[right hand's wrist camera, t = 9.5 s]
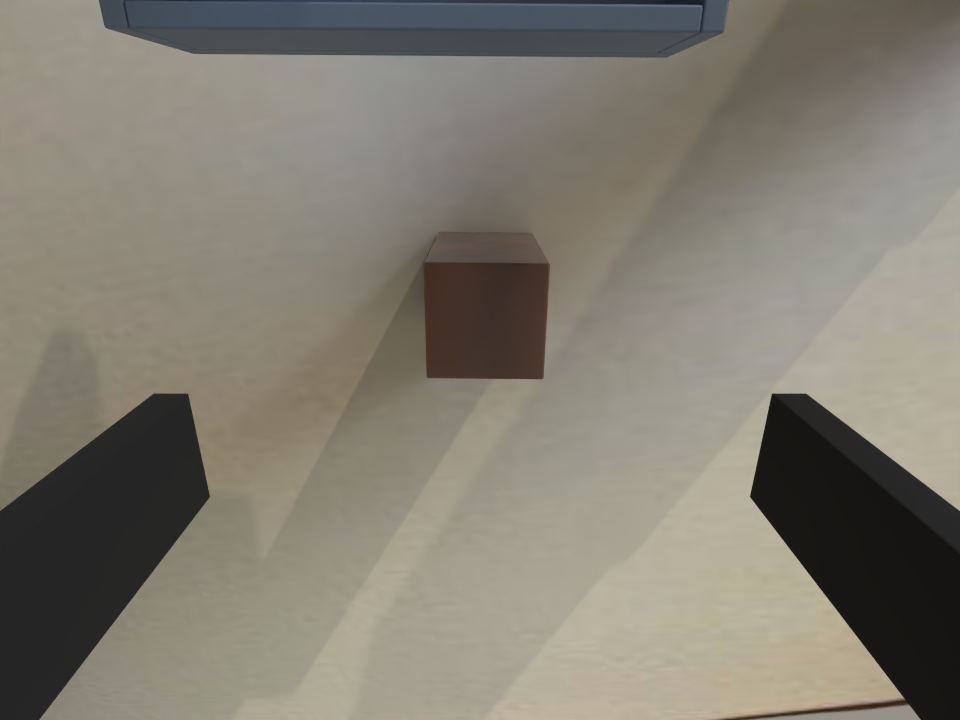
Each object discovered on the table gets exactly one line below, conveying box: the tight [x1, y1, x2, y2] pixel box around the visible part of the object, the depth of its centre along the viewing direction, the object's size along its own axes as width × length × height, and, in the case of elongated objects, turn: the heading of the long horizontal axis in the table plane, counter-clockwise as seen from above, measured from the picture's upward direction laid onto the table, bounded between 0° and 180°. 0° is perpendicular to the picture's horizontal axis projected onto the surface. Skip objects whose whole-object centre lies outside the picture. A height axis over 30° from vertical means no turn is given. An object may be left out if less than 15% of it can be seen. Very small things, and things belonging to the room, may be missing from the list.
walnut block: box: [424, 232, 550, 379], centre depth 26 cm, size 5×5×8 cm
